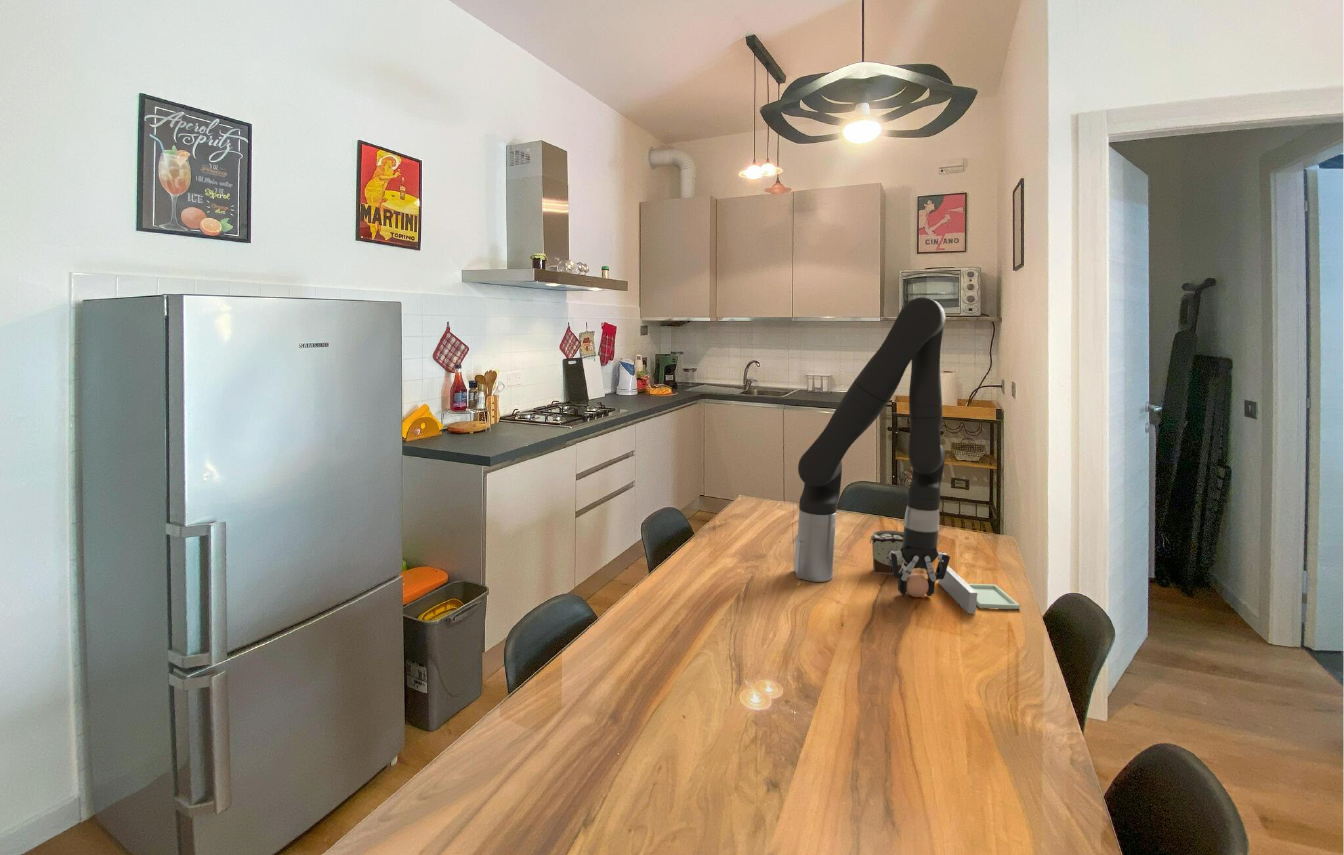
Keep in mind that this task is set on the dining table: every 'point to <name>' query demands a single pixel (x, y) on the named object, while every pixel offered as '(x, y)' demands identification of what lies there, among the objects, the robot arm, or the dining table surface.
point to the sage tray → (993, 597)
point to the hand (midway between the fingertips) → (915, 594)
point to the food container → (886, 549)
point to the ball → (916, 585)
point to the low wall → (959, 590)
